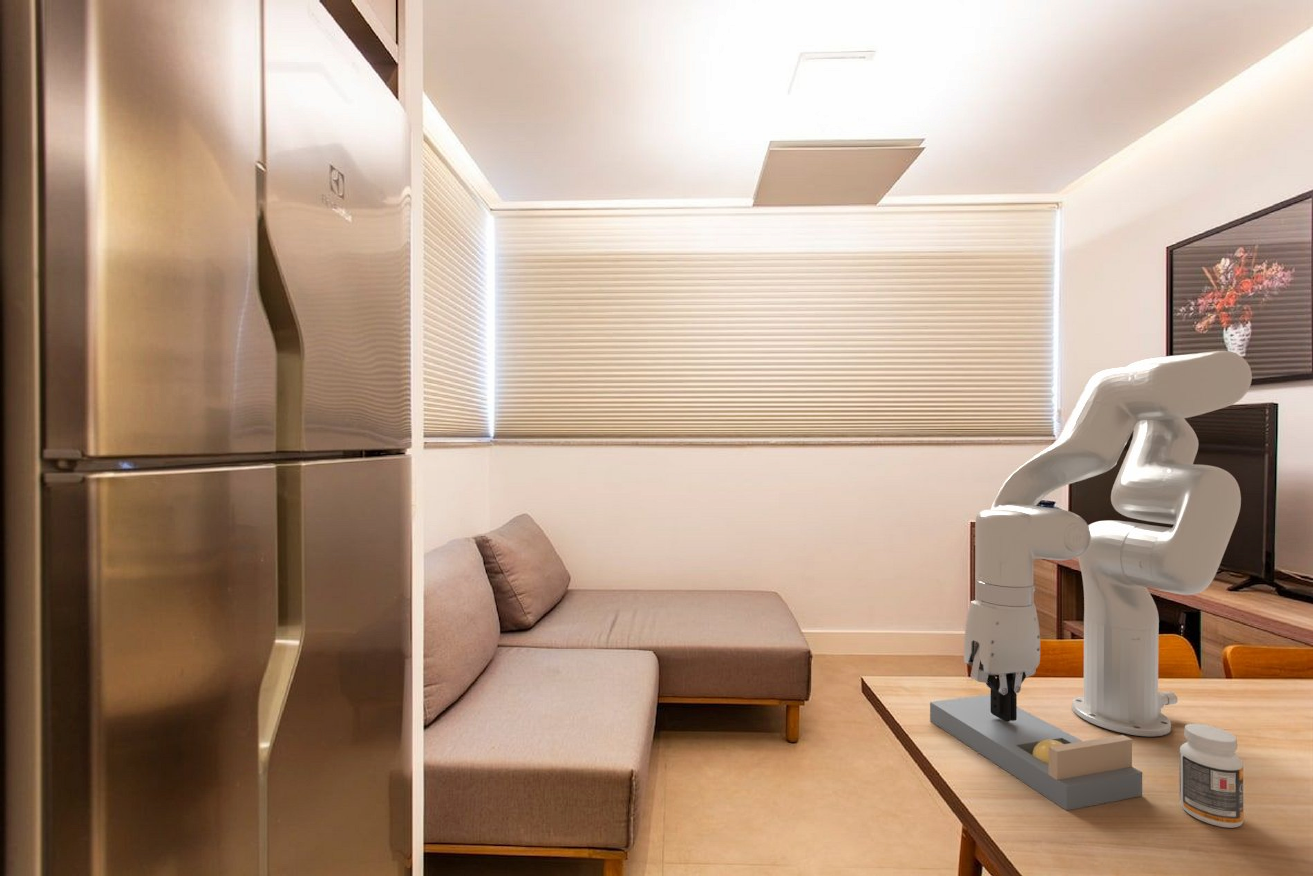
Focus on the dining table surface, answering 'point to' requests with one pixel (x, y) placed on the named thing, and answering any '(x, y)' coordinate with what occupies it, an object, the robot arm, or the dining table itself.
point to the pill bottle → (1211, 776)
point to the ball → (1044, 749)
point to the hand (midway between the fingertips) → (1003, 717)
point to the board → (1073, 767)
